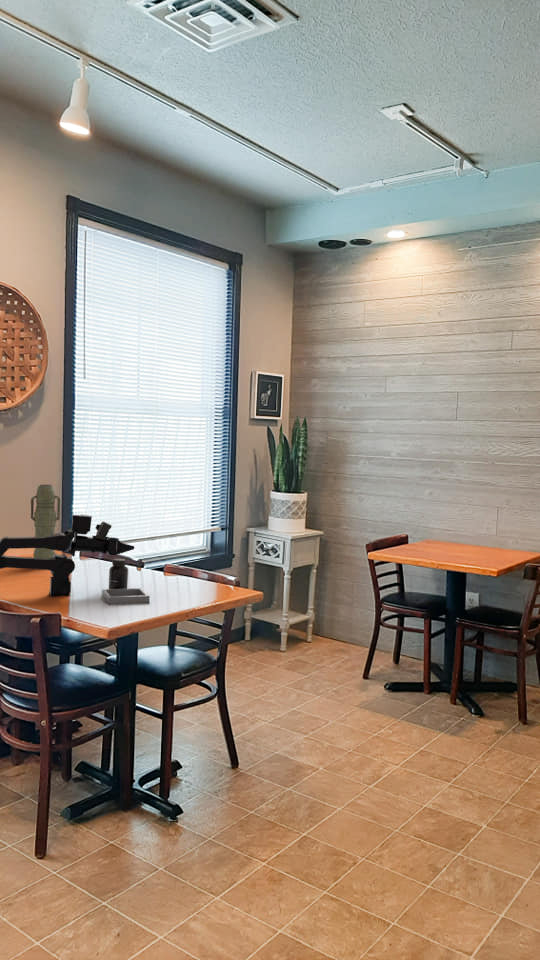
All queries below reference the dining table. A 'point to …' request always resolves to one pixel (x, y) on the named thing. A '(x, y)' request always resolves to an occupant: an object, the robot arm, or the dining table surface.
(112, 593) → the tray
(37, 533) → the thermos
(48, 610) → the dining table surface
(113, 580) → the supplement bottle
